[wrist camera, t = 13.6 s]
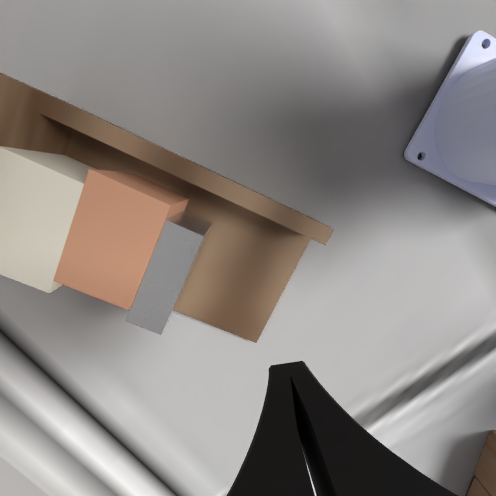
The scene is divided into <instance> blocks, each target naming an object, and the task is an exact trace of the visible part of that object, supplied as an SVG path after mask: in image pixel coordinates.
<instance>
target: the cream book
mask: <svg viewBox="0 0 496 496" xmlns="http://www.w3.org/2000/svg"><path fill="white" fill-rule="evenodd" d="M89 169H95V168H92V167H90V166H88V165H86V164H83V163H81V162H79V161H77V160H74V159H72V158H70V157H68V156H66V155H59V154H52V153H45V152H38V151H31V150H24V149H17V148H10V147H3V146H0V275H3V276H5V277H8V278H11V279H13V280H16V281H18V282H21V283H24V284H26V285H29V286H31V287H34V288H37V289H39V290H42V291H44V292H47V293H50V292H52V291H54V290H56V289H57V288H59V287H61V286H62V285H63V284H60V283H57V282H55V281H53V279H54V276H55V273H56V270H57V267H58V264H59V261H60V258H61V255H62V251H63V248H64V245H65V242H66V239H67V236H68V233H69V230H70V227H71V223H72V220H73V217H74V214H75V211H76V208H77V205H78V202H79V198H80V195H81V192H82V189H83V186H84V183H85V180H86V177H87V174H88V170H89Z"/></svg>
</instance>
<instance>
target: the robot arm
mask: <svg viewBox="0 0 496 496" xmlns="http://www.w3.org/2000/svg"><path fill="white" fill-rule="evenodd" d="M482 42H483V43H484V44H485V48H484V49H483V47H482ZM419 153H420V154H421V155H422V157H421V159H420V160H418V158H417V156H418V154H419ZM404 157H405V159H406V160H407V161H409V162H411V163H413V164H415V165H417V166H419V167H421V168H423V169H425V170H426V171H428V172H430V173H432V174H434V175H436V176H438V177H440V178H442V179H444V180H445V181H447V182H449V183H451V184H453V185H455V186H457V187H459V188H461V189H463V190H465V191H466V192H468V193H470V194H472V195H474V196H476V197H478V198H480V199H482V200H484V201H485V202H487V203H489V204H491V205H493V206H495V207H496V39H495V38H494V37H492V36H490V35H489V34H487V33H486V32H484V31H481V30H479V31H476V32H475V33H473V34H471V35H470V36H469V37H468V39H467V40H466V42H465V44H464V46H463V48H462V49H461V51H460V53H459V55H458V57H457V58H456V60H455V62H454V64H453V66H452V67H451V69H450V71H449V73H448V74H447V76H446V78H445V80H444V82H443V83H442V85H441V87H440V89H439V91H438V92H437V94H436V96H435V98H434V100H433V101H432V103H431V105H430V107H429V108H428V110H427V112H426V114H425V116H424V117H423V119H422V121H421V123H420V125H419V126H418V128H417V130H416V132H415V134H414V135H413V137H412V139H411V141H410V142H409V144H408V146H407V148H406V150H405V152H404ZM301 445H302V446H301ZM302 449H303V450H302ZM303 452H304V453H303ZM304 455H305V457H304ZM305 458H306V461H305ZM306 462H307V465H308V468H309V472H310V475H311V478H312V481H313V485H314V488H315V491H316V494H317V496H457V495H456V494H454V493H452V492H450V491H449V490H447V489H445V488H444V487H442V486H441V485H439V484H438V483H436V482H434V481H433V480H431V479H430V478H428V477H427V476H425V475H424V474H422V473H421V472H419V471H418V470H417V469H415V468H414V467H412V466H411V465H410V464H408V463H407V462H405V461H404V460H403V459H401V458H400V457H398V456H397V455H396V454H394V453H393V452H392V451H390V450H389V449H388V448H387V447H385V446H384V445H383V444H382V443H380V442H379V441H378V440H377V439H375V438H374V437H373V436H372V435H371V434H369V433H368V432H367V431H366V430H365V429H364V428H363V427H361V426H360V425H359V424H358V423H357V422H356V421H355V420H354V419H353V418H352V417H351V416H350V415H349V414H348V413H347V412H346V411H345V410H344V409H343V408H342V407H341V406H340V405H339V404H338V403H337V402H336V401H335V400H334V399H333V398H332V397H331V396H330V394H329V393H328V392H327V391H326V390H325V389H324V388H323V386H322V385H321V384H320V383H319V382H318V380H317V379H316V378H315V377H314V375H313V374H312V373H311V371H310V370H309V368H308V367H307V366H306V364H305V363H304V362H303V361H299V362H292V363H285V364H279V365H272V366H270V368H269V380H268V387H267V392H266V397H265V401H264V406H263V409H262V413H261V416H260V419H259V423H258V426H257V429H256V432H255V435H254V438H253V440H252V443H251V445H250V448H249V450H248V453H247V455H246V458H245V460H244V462H243V464H242V466H241V469H240V471H239V473H238V475H237V477H236V479H235V481H234V483H233V485H232V487H231V489H230V491H229V492H228V494H227V496H315V495H314V492H313V488H312V484H311V480H310V477H309V473H308V469H307V465H306Z"/></svg>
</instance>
